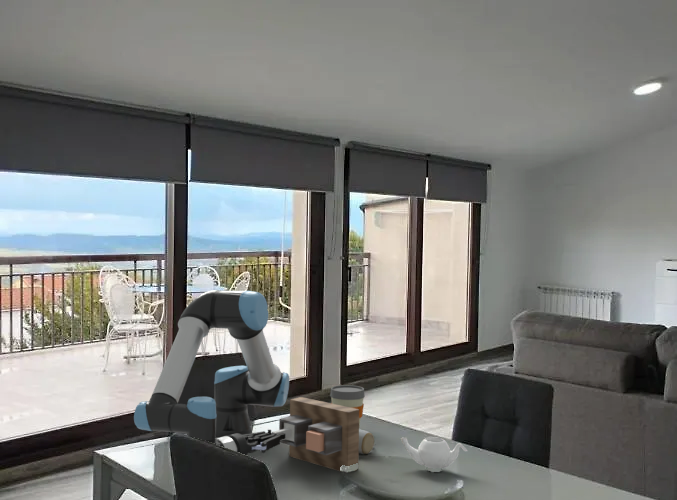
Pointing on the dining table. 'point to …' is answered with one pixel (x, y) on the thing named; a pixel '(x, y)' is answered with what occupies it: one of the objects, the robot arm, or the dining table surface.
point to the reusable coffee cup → (348, 397)
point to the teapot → (433, 452)
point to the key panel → (337, 431)
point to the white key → (291, 430)
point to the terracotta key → (315, 440)
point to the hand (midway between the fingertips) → (289, 432)
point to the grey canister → (365, 442)
